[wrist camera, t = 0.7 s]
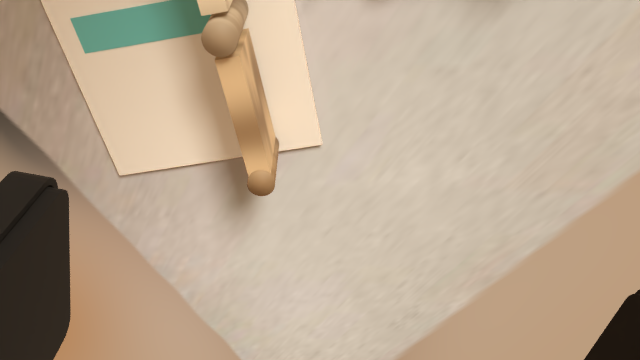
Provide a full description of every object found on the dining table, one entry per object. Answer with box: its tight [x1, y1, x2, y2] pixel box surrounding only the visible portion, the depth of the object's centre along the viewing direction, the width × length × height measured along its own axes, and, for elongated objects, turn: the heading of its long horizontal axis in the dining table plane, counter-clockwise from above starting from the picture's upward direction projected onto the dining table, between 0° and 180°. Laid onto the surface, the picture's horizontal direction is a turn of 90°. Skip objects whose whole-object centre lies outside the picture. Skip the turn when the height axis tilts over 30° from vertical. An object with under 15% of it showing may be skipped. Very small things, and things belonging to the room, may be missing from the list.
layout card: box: [40, 0, 322, 176], centre depth 35 cm, size 22×16×1 cm
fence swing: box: [215, 28, 279, 196], centre depth 36 cm, size 10×2×5 cm, turn 10°
